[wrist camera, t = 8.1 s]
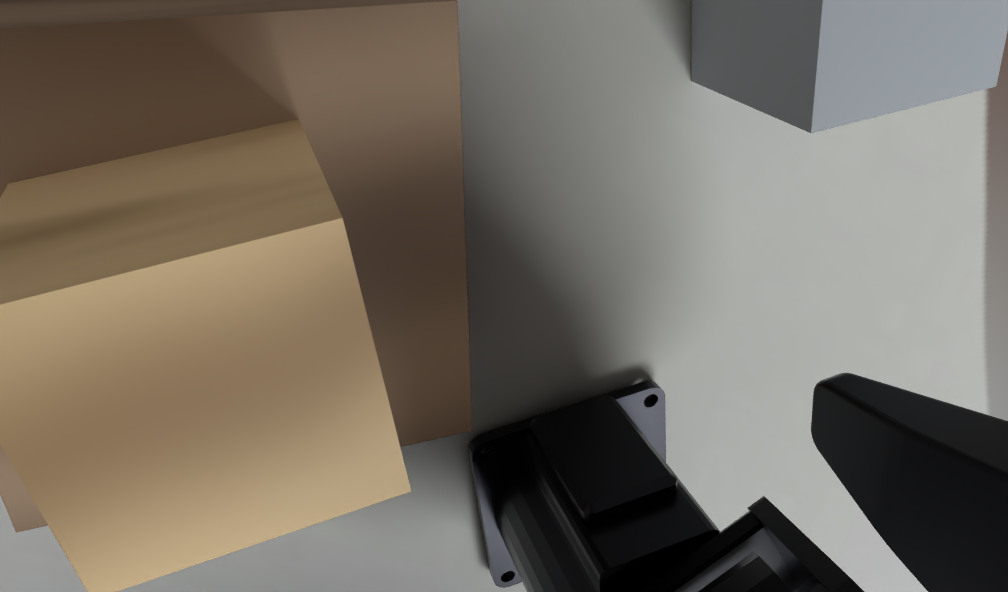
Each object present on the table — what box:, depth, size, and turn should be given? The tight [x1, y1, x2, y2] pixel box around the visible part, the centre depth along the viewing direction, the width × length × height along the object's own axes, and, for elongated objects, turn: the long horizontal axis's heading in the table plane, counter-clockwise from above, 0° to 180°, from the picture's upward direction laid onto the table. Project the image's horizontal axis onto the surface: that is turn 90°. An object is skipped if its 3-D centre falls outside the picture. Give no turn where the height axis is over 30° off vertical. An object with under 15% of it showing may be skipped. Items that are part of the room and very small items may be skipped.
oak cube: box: [0, 119, 411, 592], centre depth 13 cm, size 5×5×5 cm
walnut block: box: [0, 0, 472, 532], centre depth 17 cm, size 10×10×4 cm
